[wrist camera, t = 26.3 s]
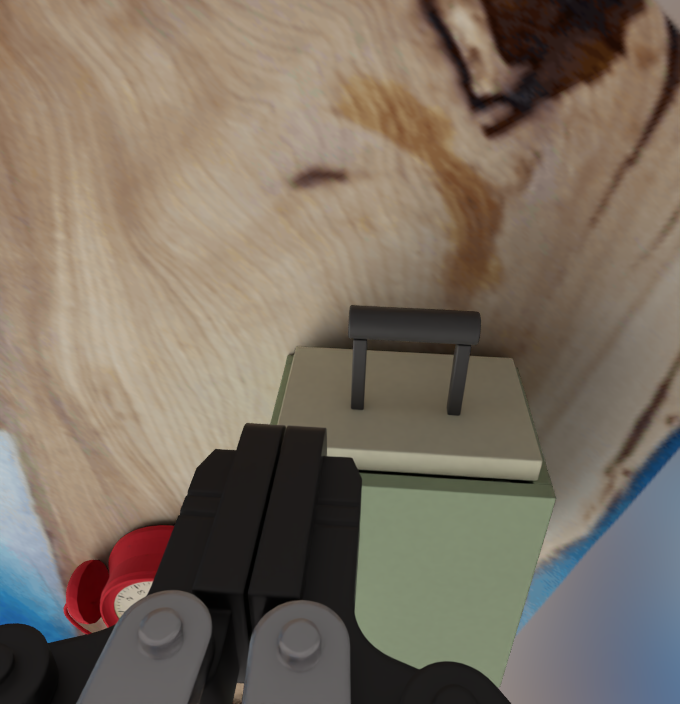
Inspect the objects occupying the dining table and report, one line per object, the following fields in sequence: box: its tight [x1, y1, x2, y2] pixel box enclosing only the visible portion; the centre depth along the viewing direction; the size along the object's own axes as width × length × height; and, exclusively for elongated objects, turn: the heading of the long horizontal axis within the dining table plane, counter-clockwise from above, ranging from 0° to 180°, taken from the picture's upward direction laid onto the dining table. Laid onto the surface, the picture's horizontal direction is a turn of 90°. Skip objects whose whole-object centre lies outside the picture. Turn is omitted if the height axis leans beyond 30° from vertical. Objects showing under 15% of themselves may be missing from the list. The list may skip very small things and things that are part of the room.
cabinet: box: [270, 355, 556, 687], centre depth 34 cm, size 15×13×10 cm
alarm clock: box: [64, 525, 174, 634], centre depth 44 cm, size 10×6×15 cm
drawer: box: [277, 305, 543, 483], centre depth 32 cm, size 19×11×8 cm, turn 179°
